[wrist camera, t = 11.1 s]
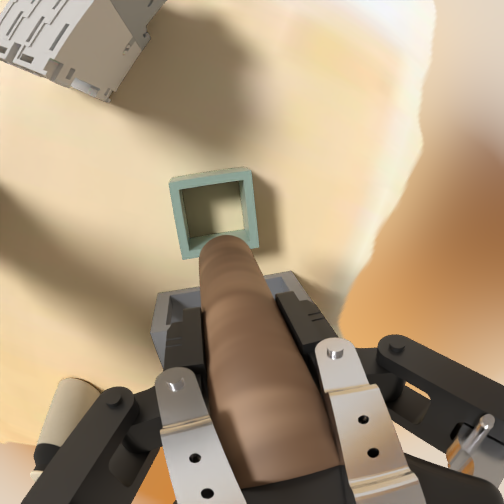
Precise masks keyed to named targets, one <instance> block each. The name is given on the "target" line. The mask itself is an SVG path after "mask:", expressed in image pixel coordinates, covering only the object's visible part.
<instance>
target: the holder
mask: <svg viewBox="0 0 504 504" xmlns="http://www.w3.org/2000/svg"><path fill="white" fill-rule="evenodd" d="M232 181H239V188H240V197H241V205H242V214H243V222H244V229H243V230H236V231H230V232H224V233H217V234H211V235H205V236H199V237H193V238H190V235H189V230H188V224H187V218H186V212H185V206H184V200H183V194H182V189H186V188H192V187H198V186H205V185H211V184H218V183H225V182H232ZM169 188H170V195H171V200H172V206H173V212H174V218H175V223H176V228H177V234H178V239H179V244H180V249H181V254H182V259H183V260H185V259H191V258H197V257H199V255H200V252H201V250H202V248H203V247H204V245H205V244H206V243H207V242H208V241H209V240H211V239H213V238H215V237H217V236H221V235H233V236H236V237H239V238H240V239H242V240H243V241H245V242H246V243H247V245H248V246H249V248H250V249H252V248H259V239H258V230H257V220H256V210H255V201H254V191H253V182H252V173H251V170H250V169H248V168H246V167H238V168H230V169H223V170H216V171H209V172H203V173H196V174H190V175H184V176H178V177H172V179H171V180H170V181H169Z"/></svg>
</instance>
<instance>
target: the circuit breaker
mask: <svg viewBox="0 0 504 504" xmlns="http://www.w3.org/2000/svg"><path fill="white" fill-rule="evenodd" d="M166 1H167V0H10V1H9V2H8V3H7V5H6V6H5V8H4V10H3V11H2V13H1V14H0V60H1V61H3V62H5V63H8V64H10V65H13V66H15V67H18V68H20V69H23V70H25V71H28V72H30V73H33V74H35V75H37V76H40V77H44V78H47V79H49V80H50V81H52V82H54V83H56V84H59V85H62V86H64V87H67V88H70V86H71V87H73V88H75V89H77V90H80V91H82V92H84V93H86V94H88V95H90V96H93V97H95V98H97V99H100V100H102V101H106V102H108V103H110V101H111V99H109V96H110V95H111V93H112V91H114V92H116V91H117V89H118V87H119V86H120V84H121V82H122V81H123V79H124V77H125V76H126V74H127V73H128V71H129V70H130V68H131V66H132V65H133V63H134V62H135V60H136V59H137V57H138V56H139V54H140V53H141V52H142V50H143V49H144V47H145V46H146V44H147V43H148V42H149V40H150V39H151V38H150V35H149V33H148V32H146V31H147V29H146V25H147V24H148V23H149V21H150V20H151V19H152V18H153V16H154V15H155V14H156V13H157V11H158V10H159V9H160V8H161V7H162V5H163V4H164V3H165V2H166Z"/></svg>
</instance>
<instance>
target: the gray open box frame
mask: <svg viewBox="0 0 504 504" xmlns="http://www.w3.org/2000/svg"><path fill="white" fill-rule="evenodd" d="M263 277H264V279H265V281H266V283H267V285H268V287H269V289H270V291H271V293H272V295H273V297H274V299H275V294H277V293H283V292H288V291H294V293H295V295H296V296H297V298H298V299H299V301H302V300H309V301H310V302H312V303H313V301H312V300H311V298H310V297H309V296H308V294H307V293H306V291H305V290H304V288H303V287H302V285H301V284H300V283H299V281H298V280H297V278H296V277H295V275H294V274H293V273H292V271H288V272H282V273H276V274H271V275H265V276H263ZM195 307H201V296H200V287H194V288H188V289H182V290H175V291H169V292H162V293H158V295H157V300H156V305H155V310H154V315H153V321H152V326H151V331H150V334H151V337H152V340H153V343H154V345H155V348H156V351H157V354H158V356H159V359H160V362H161V364H162V367H163V369H164V357H165V348H166V335H167V330H168V329H169V327H170V326H171V324H172V323H175V322H182V319H183V309H188V308H195Z"/></svg>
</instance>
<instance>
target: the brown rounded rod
mask: <svg viewBox="0 0 504 504" xmlns="http://www.w3.org/2000/svg"><path fill="white" fill-rule="evenodd" d="M199 277H200V296H201V311H202V319H203V333H204V346H205V358H206V369H207V389H208V399H209V408H210V417H211V420H212V423H213V426H214V428H215V431H216V433H217V436H218V438H219V441H220V443H221V446H222V448H223V451H224V453H225V456H226V458H227V460H228V463H229V465H230V467H231V470H232V472H233V474H234V477H235V479H236V481H237V483H238V486H239V488H240V489H243V488H249V487H255V486H261V485H266V484H271V483H275V482H280V481H284V480H289V479H293V478H297V477H300V476H304V475H308V474H312V473H315V472H318V471H322V470H325V469H328V468H331V467H335V466H338V465H340V461H339V457H338V453H337V448H336V443H335V438H334V434H333V431H332V429H331V426H330V422H329V419H328V415H327V412H326V409H325V406H324V403H323V399H322V397H321V395H320V393H319V391H318V388H317V386H316V384H315V382H314V380H313V378H312V376H311V374H310V372H309V370H308V368H307V366H306V364H305V362H304V359H303V357H302V355H301V353H300V351H299V349H298V347H297V345H296V343H295V341H294V339H293V337H292V335H291V333H290V330H289V328H288V326H287V324H286V322H285V320H284V318H283V316H282V314H281V312H280V310H279V308H278V306H277V304H276V301H275V299H274V297H273V295H272V293H271V291H270V289H269V287H268V285H267V283H266V281H265V279H264V277H263V274H262V272H261V270H260V268H259V266H258V264H257V262H256V260H255V258H254V256H253V254H252V252H251V250H250V248H249V246H248V245H247V243H246V242H245V241H243V240H242V239H240V238H239V237H236V236H233V235H221V236H217V237H215V238H213V239H211V240H209V241H208V242H207V243H206V244H205V245H204V247H203V248H202V250H201V252H200V255H199Z"/></svg>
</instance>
